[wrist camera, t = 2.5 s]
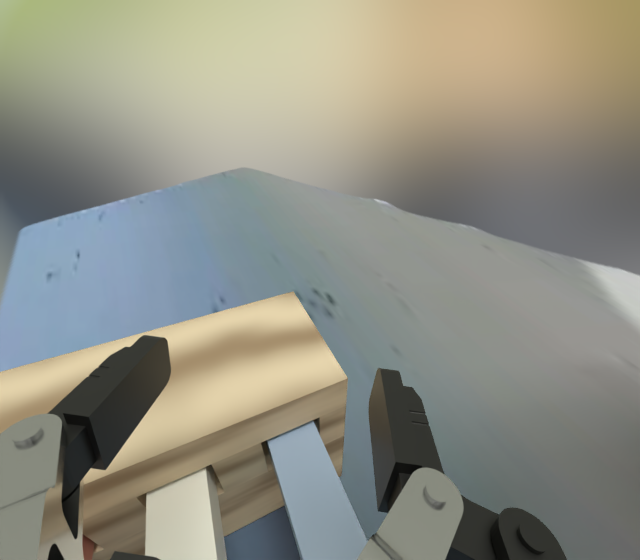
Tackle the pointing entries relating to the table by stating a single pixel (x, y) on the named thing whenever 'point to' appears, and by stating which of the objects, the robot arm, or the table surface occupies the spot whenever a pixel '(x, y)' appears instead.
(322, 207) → the table surface
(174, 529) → the white key
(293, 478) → the blue key
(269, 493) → the key box
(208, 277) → the table surface
